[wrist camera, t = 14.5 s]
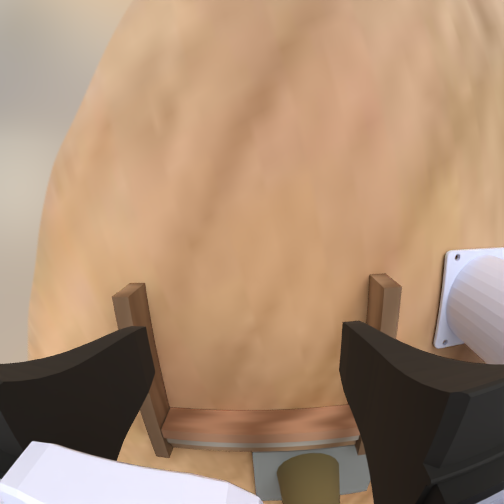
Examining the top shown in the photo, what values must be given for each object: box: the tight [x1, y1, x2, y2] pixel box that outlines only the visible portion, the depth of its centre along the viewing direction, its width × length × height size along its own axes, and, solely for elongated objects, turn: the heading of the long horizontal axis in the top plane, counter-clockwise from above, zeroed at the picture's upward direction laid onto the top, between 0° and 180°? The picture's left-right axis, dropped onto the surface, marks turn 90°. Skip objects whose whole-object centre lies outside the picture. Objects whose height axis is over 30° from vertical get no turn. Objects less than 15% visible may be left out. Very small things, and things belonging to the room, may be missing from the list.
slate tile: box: [252, 444, 371, 501], centre depth 25 cm, size 12×9×1 cm
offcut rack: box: [112, 274, 402, 458], centre depth 21 cm, size 18×15×3 cm
